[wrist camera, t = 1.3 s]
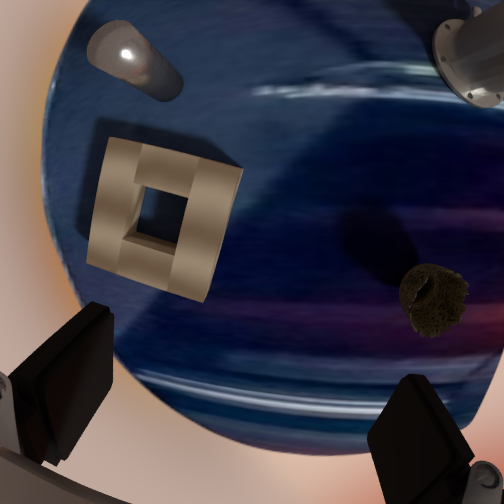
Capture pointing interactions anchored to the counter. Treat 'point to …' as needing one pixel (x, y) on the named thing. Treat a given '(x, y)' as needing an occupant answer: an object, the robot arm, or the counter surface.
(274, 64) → the counter surface
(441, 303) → the brown bumpy hollow part
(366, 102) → the counter surface
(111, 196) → the square wooden frame
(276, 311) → the counter surface
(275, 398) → the counter surface
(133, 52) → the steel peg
